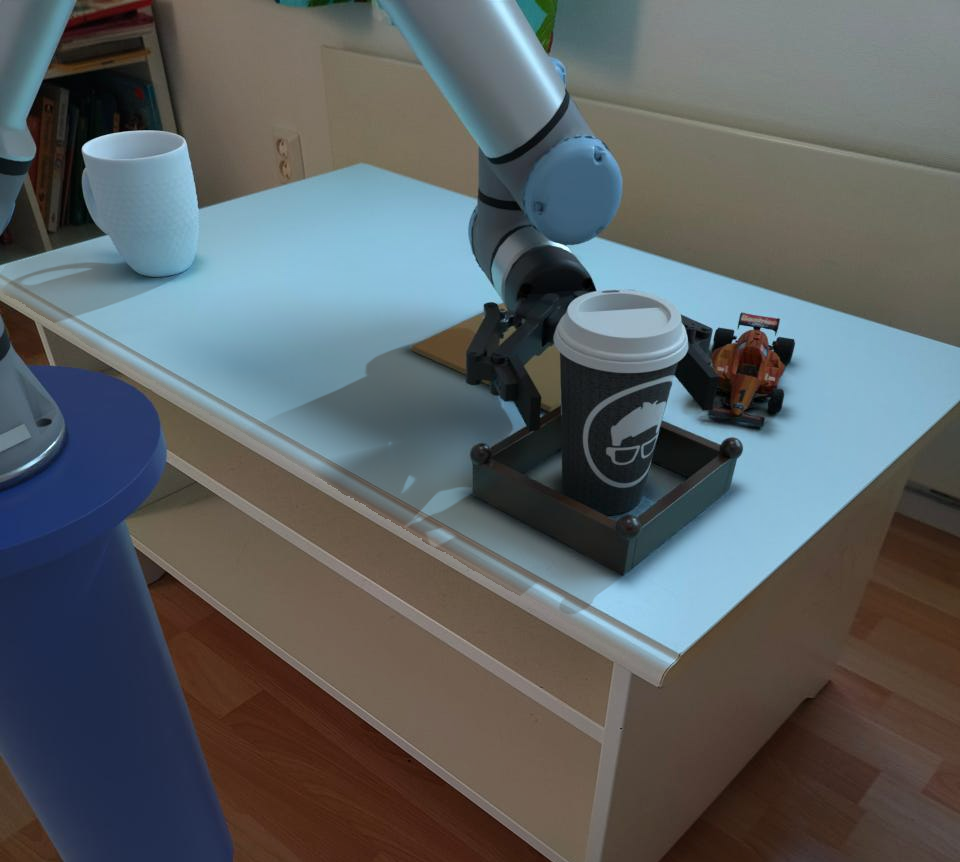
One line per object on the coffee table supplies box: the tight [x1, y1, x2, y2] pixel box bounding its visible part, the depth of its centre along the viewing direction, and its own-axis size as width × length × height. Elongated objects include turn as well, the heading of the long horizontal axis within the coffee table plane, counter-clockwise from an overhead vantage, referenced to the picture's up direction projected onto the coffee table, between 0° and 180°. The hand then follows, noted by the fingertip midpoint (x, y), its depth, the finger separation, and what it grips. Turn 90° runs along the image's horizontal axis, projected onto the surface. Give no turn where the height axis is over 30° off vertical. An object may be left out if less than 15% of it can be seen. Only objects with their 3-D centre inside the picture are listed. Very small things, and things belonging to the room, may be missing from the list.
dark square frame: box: [469, 405, 744, 576], centre depth 71 cm, size 16×16×5 cm
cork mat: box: [411, 302, 561, 413], centre depth 89 cm, size 18×14×1 cm
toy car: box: [708, 312, 796, 428], centre depth 84 cm, size 8×16×4 cm, turn 162°
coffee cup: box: [553, 288, 688, 516], centre depth 67 cm, size 10×10×15 cm
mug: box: [81, 129, 200, 278], centre depth 101 cm, size 15×11×13 cm
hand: (625, 404), depth 65 cm, fingers open, 13 cm apart
